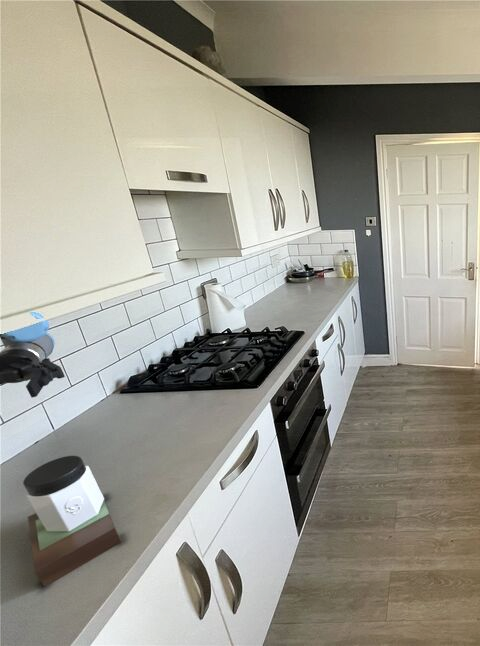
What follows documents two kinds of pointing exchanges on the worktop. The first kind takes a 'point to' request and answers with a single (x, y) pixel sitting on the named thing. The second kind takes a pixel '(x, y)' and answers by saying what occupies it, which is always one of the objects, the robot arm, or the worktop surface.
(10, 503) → the worktop surface
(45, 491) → the jar
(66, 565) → the green-topped wooden base
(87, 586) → the worktop surface
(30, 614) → the worktop surface
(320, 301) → the worktop surface
